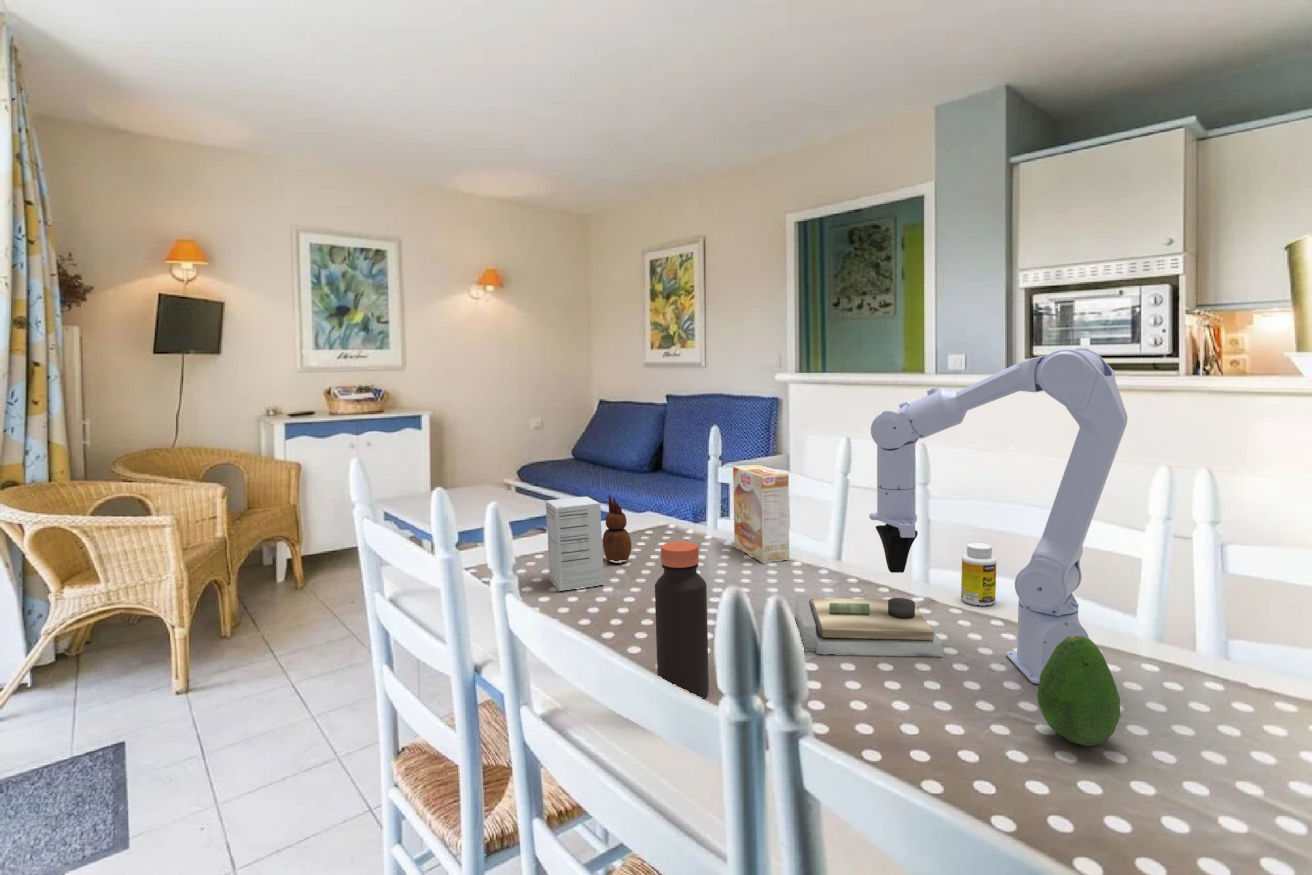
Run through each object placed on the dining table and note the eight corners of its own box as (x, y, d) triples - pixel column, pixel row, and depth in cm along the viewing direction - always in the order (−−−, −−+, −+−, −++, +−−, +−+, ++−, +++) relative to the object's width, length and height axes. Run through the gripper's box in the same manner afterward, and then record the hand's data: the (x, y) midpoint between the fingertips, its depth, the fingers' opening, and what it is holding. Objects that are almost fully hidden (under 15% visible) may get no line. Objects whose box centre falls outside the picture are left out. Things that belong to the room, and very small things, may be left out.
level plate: (933, 639, 102) (934, 618, 102) (818, 637, 104) (818, 616, 103) (909, 606, 116) (909, 588, 115) (808, 604, 118) (808, 586, 117)
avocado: (1088, 721, 82) (1092, 623, 81) (1135, 758, 75) (1140, 651, 73) (1021, 723, 82) (1024, 626, 81) (1061, 761, 74) (1065, 654, 73)
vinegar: (666, 708, 88) (661, 555, 86) (652, 685, 95) (647, 542, 93) (716, 700, 90) (713, 550, 88) (699, 678, 96) (695, 537, 94)
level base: (942, 656, 101) (942, 630, 101) (804, 654, 103) (804, 628, 103) (914, 616, 117) (914, 593, 116) (794, 615, 119) (794, 592, 119)
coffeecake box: (733, 547, 164) (731, 465, 162) (760, 544, 166) (759, 463, 164) (761, 564, 150) (760, 475, 148) (790, 560, 152) (790, 472, 150)
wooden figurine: (600, 560, 157) (597, 494, 155) (623, 556, 159) (621, 492, 157) (610, 567, 150) (608, 499, 149) (635, 563, 153) (633, 496, 151)
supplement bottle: (983, 609, 119) (985, 551, 118) (954, 600, 124) (955, 544, 123) (1002, 602, 123) (1003, 546, 121) (972, 594, 127) (973, 539, 126)
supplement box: (605, 586, 138) (601, 503, 136) (559, 593, 134) (555, 507, 133) (591, 573, 147) (588, 495, 145) (548, 579, 143) (544, 499, 142)
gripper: (860, 479, 116) (861, 558, 118) (880, 495, 102) (880, 585, 103) (904, 479, 116) (904, 558, 117) (930, 495, 101) (929, 585, 103)
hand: (896, 571), depth 110 cm, fingers closed
